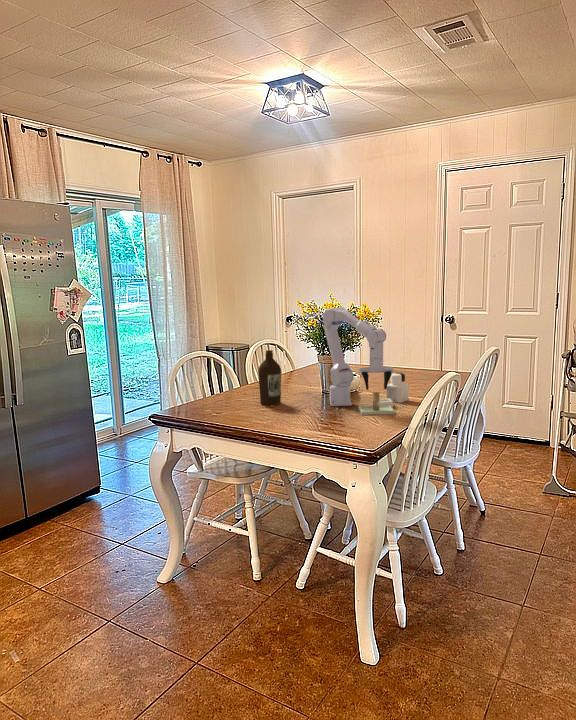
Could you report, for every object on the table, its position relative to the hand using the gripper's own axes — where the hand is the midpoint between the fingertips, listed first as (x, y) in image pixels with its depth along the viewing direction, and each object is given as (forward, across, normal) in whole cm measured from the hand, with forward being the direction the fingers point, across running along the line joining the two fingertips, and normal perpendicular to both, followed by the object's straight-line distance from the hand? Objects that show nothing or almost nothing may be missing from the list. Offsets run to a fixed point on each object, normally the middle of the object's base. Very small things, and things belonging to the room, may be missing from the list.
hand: (376, 389), depth 230 cm
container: (+10, +13, +20) cm, 26 cm away
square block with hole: (+10, +5, +9) cm, 14 cm away
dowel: (+9, 0, 0) cm, 9 cm away
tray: (+10, 0, 0) cm, 10 cm away
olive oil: (+10, -46, +19) cm, 51 cm away
